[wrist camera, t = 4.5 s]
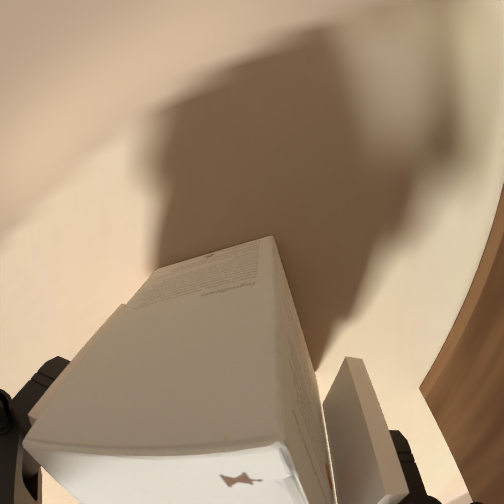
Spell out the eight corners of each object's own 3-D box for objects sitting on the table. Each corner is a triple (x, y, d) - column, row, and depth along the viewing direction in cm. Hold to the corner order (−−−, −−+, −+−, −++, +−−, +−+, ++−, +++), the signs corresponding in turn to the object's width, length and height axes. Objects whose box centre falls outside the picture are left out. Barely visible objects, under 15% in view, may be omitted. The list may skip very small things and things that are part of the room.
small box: (156, 266, 14) (8, 436, 4) (275, 230, 13) (283, 438, 3) (216, 397, 16) (178, 573, 6) (317, 377, 16) (344, 568, 6)
